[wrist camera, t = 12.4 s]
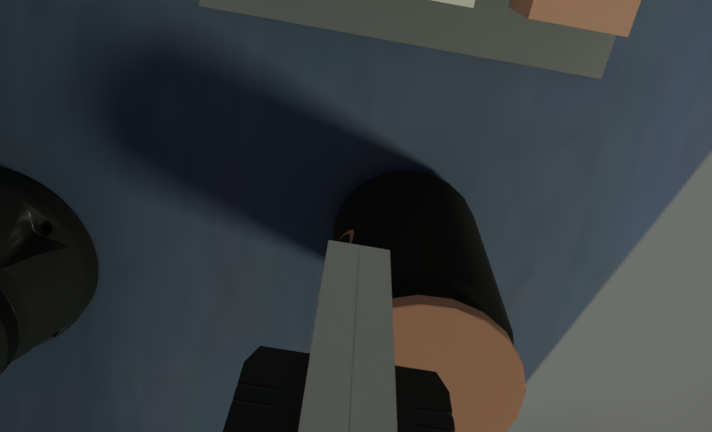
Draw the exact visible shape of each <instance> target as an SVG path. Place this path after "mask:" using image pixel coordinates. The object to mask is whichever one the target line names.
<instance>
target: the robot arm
mask: <svg viewBox="0 0 712 432" xmlns="http://www.w3.org/2000/svg"><path fill="white" fill-rule="evenodd" d="M97 282H98V260H97V255H96V251H95V248H94V245H93V243H92V240H91V238H90V236H89V234H88V232H87V230H86V228H85V227H84V225H83V224H82V222H81V221H80V219H79V218H78V217H77V216H76V214H75V213H74V212H73V211H72V210H71V209H70V208H69V207H68V206H67V205H66V204H65V203H64V202H63V201H62V200H61V199H60V198H59V197H57V196H56V195H55V194H54V193H52V192H51V191H49V190H48V189H47V188H45V187H43V186H42V185H40V184H38V183H36V182H35V181H33V180H31V179H29V178H26V177H24V176H22V175H19V174H17V173H14V172H11V171H7V170H3V169H0V375H1V373H2V372H3V371H4V370H5V369H6V368H7V366H8V365H9V364H10V363H11V362H12V361H14V360H15V359H17V358H19V357H20V356H22V355H24V354H25V353H27V352H28V351H29V350H31V349H32V348H34V347H35V346H37V345H40V344H42V343H45V342H47V341H49V340H51V339H53V338H55V337H57V336H58V335H60V334H61V333H63V332H64V331H65V330H67V329H68V328H69V327H70V326H71V325H72V324H73V323H74V322H75V321H76V320H77V318H78V317H79V316H80V315H81V313H82V312H83V311H84V309H85V308H86V307H87V306H88V304H89V303H90V301H91V299H92V297H93V295H94V293H95V290H96V287H97ZM223 432H455V425H454V419H453V417H452V406H451V400H450V393H449V391H448V389H447V388H446V386H445V385H444V383H443V381H442V380H441V378H440V377H439V375H438V374H437V372H434V371H428V370H421V369H415V368H408V367H402V366H396V365H395V360H394V336H393V311H392V286H391V262H390V250H386V249H380V248H374V247H368V246H362V245H356V244H350V243H344V242H338V241H332V240H328V246H327V251H326V257H325V263H324V269H323V275H322V281H321V287H320V292H319V298H318V304H317V310H316V316H315V322H314V327H313V333H312V340H311V346H310V352H309V353H302V352H296V351H289V350H283V349H277V348H270V347H264V346H260V347H259V348H258V349H257V350H256V351H255V352H254V353H253V354H252V355H251V356H250V357H249V358H248V359H247V360H246V361H244V365H243V368H242V371H241V374H240V378H239V381H238V385H237V387H236V391H235V394H234V397H233V402H232V404H231V407H230V410H229V413H228V417H227V420H226V423H225V426H224V430H223Z"/></svg>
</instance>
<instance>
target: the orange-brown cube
mask: <svg viewBox="0 0 712 432" xmlns="http://www.w3.org/2000/svg"><path fill="white" fill-rule="evenodd" d="M640 2H641V0H510V3H509V6H508V7H509V8H511V9H512V10H514V11H516V12H518V13H519V14H521V15H523V16H525V17H526V18H528V19H533V20H539V21H544V22H549V23H555V24H560V25H565V26H571V27H576V28H582V29H587V30H592V31H598V32H603V33H609V34H614V35H619V36H625V37H628V35H629V33H630V30H631V27H632V24H633V22H634V19H635V16H636V13H637V10H638V8H639V5H640Z"/></svg>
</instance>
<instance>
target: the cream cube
mask: <svg viewBox="0 0 712 432" xmlns="http://www.w3.org/2000/svg"><path fill="white" fill-rule="evenodd" d="M432 1H438V2H443V3H449V4H454V5H459V6H465V7H470V8H473V7H474V3H475V0H432Z"/></svg>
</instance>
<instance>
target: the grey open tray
mask: <svg viewBox="0 0 712 432" xmlns="http://www.w3.org/2000/svg"><path fill="white" fill-rule="evenodd" d="M509 3H510V0H475V3H474V7H473V8H470V7H465V6H459V5H454V4H449V3H443V2H438V1H432V0H199V6H203V7H208V8H214V9H219V10H225V11H230V12H236V13H241V14H247V15H252V16H257V17H263V18H268V19H274V20H279V21H285V22H290V23H296V24H301V25H307V26H312V27H318V28H323V29H329V30H334V31H340V32H345V33H351V34H356V35H362V36H367V37H373V38H378V39H384V40H389V41H395V42H400V43H406V44H411V45H417V46H422V47H428V48H433V49H439V50H444V51H450V52H455V53H461V54H466V55H472V56H477V57H483V58H488V59H494V60H499V61H505V62H510V63H516V64H521V65H527V66H532V67H538V68H543V69H549V70H554V71H560V72H565V73H571V74H576V75H582V76H587V77H593V78H598V79H601V78H602V75H603V72H604V70H605V67H606V64H607V61H608V58H609V55H610V53H611V50H612V47H613V44H614V41H615V38H616V35H614V34H609V33H603V32H598V31H592V30H587V29H582V28H576V27H571V26H565V25H560V24H555V23H549V22H544V21H539V20H533V19H528V18H526V17H525V16H523V15H521V14H519V13H518V12H516V11H514V10H512V9H511V8H509V7H508V6H509Z"/></svg>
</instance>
